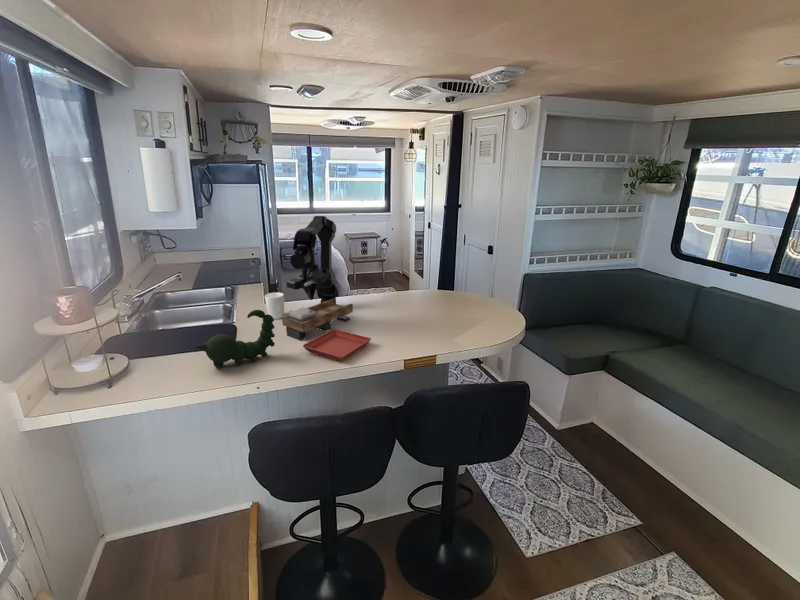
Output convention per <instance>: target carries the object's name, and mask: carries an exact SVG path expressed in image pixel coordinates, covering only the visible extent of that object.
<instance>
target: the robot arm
mask: <svg viewBox="0 0 800 600" xmlns="http://www.w3.org/2000/svg"><path fill="white" fill-rule="evenodd" d="M312 218H313V219H312V220H311V221H310V222H309V224H308V225H307V226H306V227H303V228H300V229H298V230H297V231H296V233H295V234H294V238H293V239H294V240H293V244H292V251H294V254H292V256H291V257H290V260H289V261H290V264H291V265H290V266H292V268H294V269H296V270H300V271H301V274H300V275H299V278H301V279H299V278H290V279H287V281H286V287H287V288H289V289H292V290H300V289H302V290H303V291H304V292H305V294H306V295H307V297H308V299H309V300H310V301H312V300H314V296H315V293H316V295H317V297H318V298H320V303H322V302H325V301H328V300H331V299H334V300H335V304H337V297H339V295H340V291H339V288H338V286H337V285H336V279H335V278H334V277H333V275H332V242H333V241H334V239H335V238H336V233H337V225H336V224H335V222H334V221H333V220H331V219H330V218H328V217H326V216H325V215H315V216H313V217H312ZM317 240H319V241H320V268H319V264H316V254H315V249H316V245H317V242H318V241H317Z"/></svg>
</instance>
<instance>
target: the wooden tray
mask: <svg viewBox="0 0 800 600" xmlns="http://www.w3.org/2000/svg"><path fill="white" fill-rule="evenodd" d="M307 308H308V309H311V310H314V311H315V315H316V317H315V318H312V319H310V320H307V321H304V322H300V321H297V320H294V319H291V318H290V314H287V315H284V316H283V317H282V318H281V319H282V320H281V322H282V326H284V327H289V328H292V329H295V330H297V331H300V332H305V331H306V332H307V331H309V330H312V329H316V328H315V327H317V326H320V325H322V324H324V323H332V321H334V320H337V318H339V317H342V316H347V315H349V314H351V313H353V312H354V306H353V304H352V303H349V304H346V305H341V304H337V303H336V304H335V300H334V299H331V300H328V301H325V302H322V303H321V302H320V303H318V304H317V303H316V304H314V305H311V306H308V307H307Z"/></svg>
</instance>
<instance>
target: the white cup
mask: <svg viewBox="0 0 800 600" xmlns="http://www.w3.org/2000/svg"><path fill="white" fill-rule="evenodd" d="M264 300H265V307H266V311H267V314H269V315H271V316H272V317H273V318H274V320H280V319H282V317H283V316H285V295H284V293H282V292H269V293H266V294H265V295H264Z"/></svg>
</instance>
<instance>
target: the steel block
mask: <svg viewBox="0 0 800 600" xmlns="http://www.w3.org/2000/svg"><path fill="white" fill-rule="evenodd" d="M289 314H290V318H291V319H294V320H297V321H300V322H304V321H307V320H310V319H312V318H315V317H316V315H315V311H314V310H311V309H308V307H304V306H303V307H299V308H298V309H295V310H292V311H289ZM289 314H288V315H289Z"/></svg>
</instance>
